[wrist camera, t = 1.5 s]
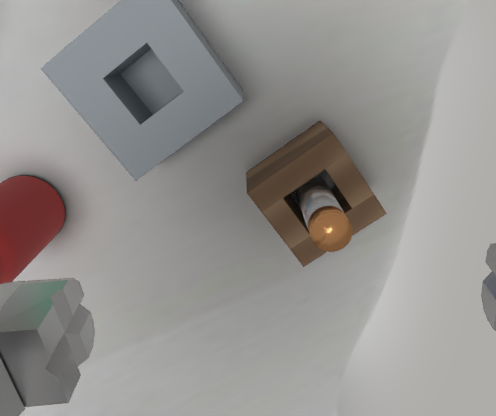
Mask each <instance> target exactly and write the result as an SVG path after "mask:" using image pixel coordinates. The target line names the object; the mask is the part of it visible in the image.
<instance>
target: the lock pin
mask: <svg viewBox="0 0 496 416" xmlns="http://www.w3.org/2000/svg"><path fill="white" fill-rule="evenodd" d="M294 192H295V194H296V197H297V200H298V203H299V206H300V208H301V211H302V214H303V217H304V219H305V222H306V225H307V228H308V230H309V233H310V236H311V239H312V241H313V243H314V244H315V246H316V247H318V248H319V249H321V250H323V251H327V252H333V251H338V250H340V249H342V248H344V247H345V246H346V245H347V244H348V243H349V241H350V240H351V237H352V232H353V230H352V225H351V223H350V221H349V220H348V218H347V216H346V215H345V213H344V212H343V210H342V208H341V207H340V205H339V203H338V202H337V200H336V198H335V197H334V195H333V193H332V192H331V190H330V188H329V187H328V185H327V184H326V182H325V180H324V179H323V177H322V175H321V174H320V173H319V174H317V175H316V176H315V177H313V178H312V179H310V180H309V181H307V182H306V183H304V184H303V185H301V186H300V187H298V188H297V189H295V190H294Z"/></svg>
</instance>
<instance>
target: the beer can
mask: <svg viewBox="0 0 496 416" xmlns="http://www.w3.org/2000/svg"><path fill="white" fill-rule="evenodd" d="M64 220H65V208H64V205H63V202H62V200H61V197H60V196H59V195H58V193H57V192H56V191H55V189H54V188H53V187H51V186H50V185H49V184H47V183H46V182H45V181H43V180H40V179H37V178H35V177H32V176H21V175H20V176H16V177H11V178H8V179H7V180H5V181H3V182H2V183H0V284H2V283H7V282H12V281H13V280H14V279H15V278H16V277H17V276H18V275H19V274H20V273H21V272H22V271H23V270H24V269H25V267H26V266H27V265H28V264H29V263H30V262H31V261H32V260H33V259H34V258H35V257H36V256H37V255H38V254H39V253H40V252H41V251H42V250H43V249H44V247H45V246H46V245H47V244H48V243H49V242H50V241H51V240H52V239H53V238H54V237H55V236H56V235H57V233H58V232H59V231H60V230H61V229H62V226H63V223H64Z"/></svg>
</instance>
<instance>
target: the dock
mask: <svg viewBox="0 0 496 416" xmlns="http://www.w3.org/2000/svg"><path fill="white" fill-rule="evenodd" d="M41 70H42V71H43V72H44V73H45V74H46V75H47V77H48V78H49V79H50V80H51V81H52V83H53V84H54V85H55V86H56V87H57V88H58V90H59V91H60V92H61V93H62V94H63V96H64V97H65V98H66V99H67V100H68V101H69V103H70V104H71V105H72V106H73V107H74V108H75V110H76V111H77V112H78V113H79V114H80V116H81V117H82V118H83V119H84V120H85V121H86V123H87V124H88V125H89V126H90V127H91V129H92V130H93V131H94V132H95V133H96V134H97V136H98V137H99V138H100V139H101V140H102V142H103V143H104V144H105V145H106V146H107V147H108V149H109V150H110V151H111V152H112V153H113V155H114V156H115V157H116V158H117V159H118V160H119V162H120V163H121V164H122V165H123V166H124V168H125V169H126V170H127V171H128V172H129V173H130V175H131V176H132V177H133V178H134V179H135V181H136V180H138V179H139V178H140V177H142V176H143V175H144V174H146V173H147V172H148V171H150V170H151V169H152V168H154V167H155V166H156V165H158V164H159V163H160V162H162V161H163V160H164V159H166V158H167V157H169V156H170V155H171V154H173V153H174V152H175V151H177V150H178V149H179V148H181V147H182V146H183V145H185V144H186V143H187V142H189V141H190V140H191V139H193V138H194V137H195V136H197V135H198V134H199V133H201V132H202V131H203V130H205V129H206V128H208V127H209V126H210V125H212V124H213V123H214V122H216V121H217V120H218V119H220V118H221V117H222V116H224V115H225V114H226V113H228V112H229V111H230V110H232V109H233V108H234V107H236V106H237V105H238V104H240V103H241V102H242V101H243V91H242V89H241V88H240V86H239V85H238V84H237V82H236V81H235V79H234V78H233V77H232V75H231V74H230V72H229V71H228V70H227V68H226V67H225V65H224V64H223V63H222V61H221V60H220V58H219V57H218V56H217V54H216V53H215V51H214V50H213V49H212V47H211V46H210V44H209V43H208V41H207V40H206V39H205V37H204V36H203V34H202V33H201V32H200V30H199V29H198V27H197V26H196V25H195V23H194V22H193V20H192V19H191V18H190V16H189V15H188V13H187V12H186V11H185V9H184V8H183V6H182V5H181V4H180V2H179V1H178V0H121V1H120V2H119V3H117V4H116V5H115V6H114V7H113V8H112V9H110V10H109V11H108V12H107V13H106V14H104V15H103V16H102V17H101V18H100V19H99V20H97V21H96V22H95V23H94V24H93V25H91V26H90V27H89V28H88V29H87V30H86V31H84V32H83V33H82V34H81V35H80V36H78V37H77V38H76V39H75V40H74V41H73V42H71V43H70V44H69V45H68V46H67V47H65V48H64V49H63V50H62V51H61V52H60V53H58V54H57V55H56V56H55V57H54V58H52V59H51V60H50V61H49V62H48V63H47V64H45V65H44V66H43V67H42V68H41Z"/></svg>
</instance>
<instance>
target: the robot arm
mask: <svg viewBox="0 0 496 416" xmlns="http://www.w3.org/2000/svg"><path fill="white" fill-rule="evenodd" d="M486 263H487V265H488V266H489V268H490V269H491V270H492V272H491V273H490V274H489V275H488V276H487V277H486V278H485V280H484V281H483V284H482V294H481V297H482V303H483V309H484V312H485V315H486V317H487V319H488V321H489V323H490V324H491V326H492V328H493V329H494V330H496V243H493V244H490V246H489V249H488V251H487V256H486ZM83 296H84V293H83V290H82V288H81V285H80V282H79V281H77V280H76V279H74V278H64V279H48V280H32V281H17V282H7V283H2V284H0V416H19V415H20V414H21V413H22V412H23V411H24V410H25V407H30V406H41V405H52V404H62V403H68V402H69V400H70V398H71V396H72V394H73V391H74V389H75V387H76V385H77V382H78V380H79V378H80V376H81V375H80V372H79V369H78V366H79V365H80V364H81V363H83V362H84V361H85V360H86V359H88V358H89V355H90V353H91V350H92V348H93V343H94V335H95V331H94V323H93V319H92V316H91V313H90V311H88V310H87V309H86V308H85V307H83V306H82V305H81V304H80V303H81V301H82V298H83Z"/></svg>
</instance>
